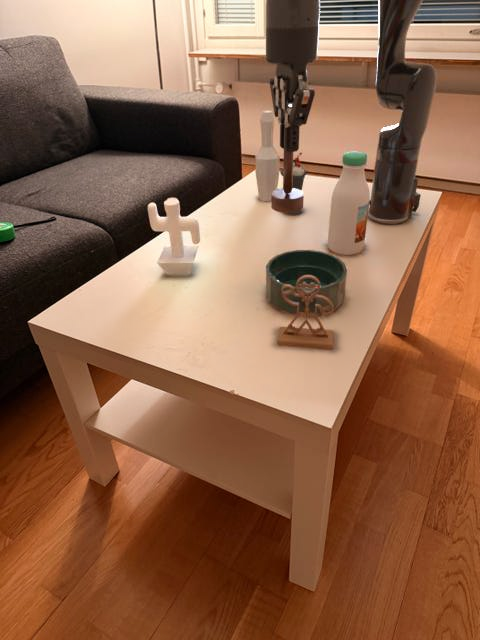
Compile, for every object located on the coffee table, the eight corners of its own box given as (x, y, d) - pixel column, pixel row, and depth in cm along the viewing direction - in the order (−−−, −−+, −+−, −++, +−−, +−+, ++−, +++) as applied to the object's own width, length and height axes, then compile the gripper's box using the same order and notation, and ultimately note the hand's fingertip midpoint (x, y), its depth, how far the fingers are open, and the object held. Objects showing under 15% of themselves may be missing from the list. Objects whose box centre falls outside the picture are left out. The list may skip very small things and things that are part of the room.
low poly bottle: (257, 193, 129) (255, 108, 116) (279, 194, 128) (281, 108, 115) (254, 202, 124) (252, 114, 111) (278, 202, 123) (279, 114, 110)
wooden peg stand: (296, 199, 84) (299, 111, 75) (308, 210, 79) (313, 118, 71) (267, 203, 83) (266, 114, 74) (277, 214, 78) (278, 122, 70)
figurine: (200, 279, 92) (193, 207, 83) (154, 279, 93) (142, 208, 84) (205, 261, 98) (198, 193, 89) (161, 261, 99) (151, 193, 90)
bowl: (323, 271, 93) (325, 244, 89) (357, 309, 82) (361, 280, 78) (256, 284, 90) (255, 257, 86) (282, 325, 79) (282, 295, 75)
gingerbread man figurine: (333, 334, 76) (339, 270, 69) (332, 349, 73) (339, 284, 66) (279, 330, 77) (280, 267, 70) (276, 345, 74) (277, 280, 67)
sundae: (304, 216, 115) (307, 155, 106) (278, 215, 116) (278, 154, 107) (307, 206, 120) (310, 147, 111) (281, 205, 121) (282, 146, 113)
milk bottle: (342, 259, 97) (351, 162, 85) (320, 245, 102) (326, 152, 91) (371, 250, 99) (384, 155, 88) (348, 236, 105) (358, 146, 93)
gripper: (337, 24, 61) (327, 158, 71) (299, 20, 71) (295, 137, 82) (283, 27, 59) (281, 164, 69) (252, 22, 70) (254, 141, 80)
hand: (289, 149), depth 75 cm, fingers closed on wooden peg stand
